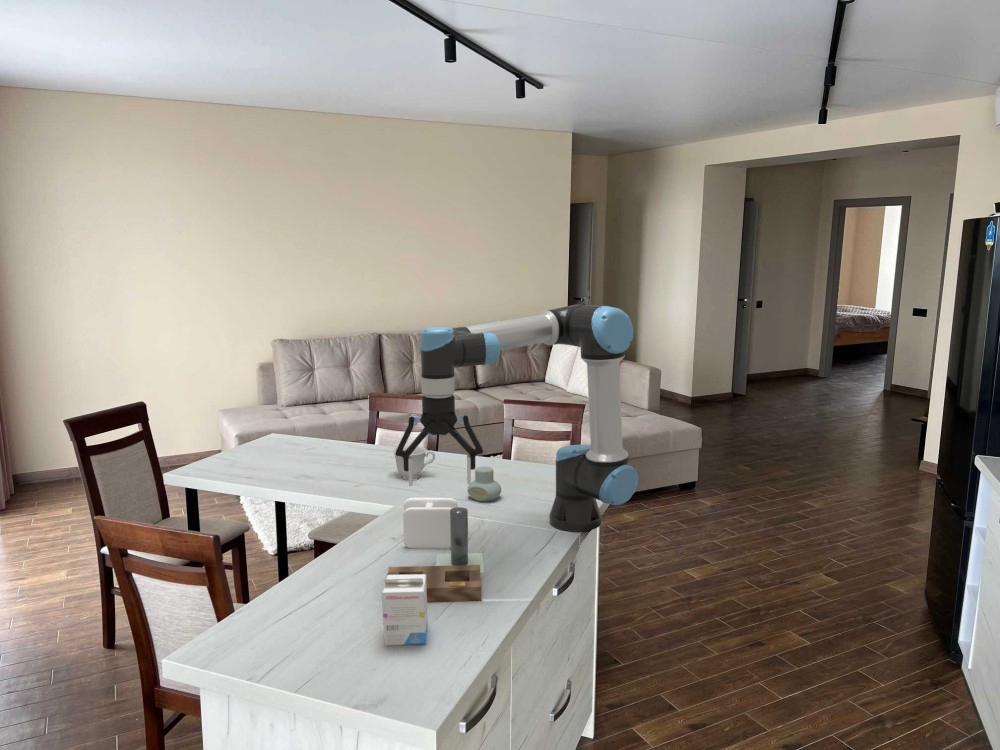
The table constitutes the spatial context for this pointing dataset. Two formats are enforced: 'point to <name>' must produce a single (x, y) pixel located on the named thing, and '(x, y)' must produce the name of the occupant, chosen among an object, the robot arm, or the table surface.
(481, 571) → the mat
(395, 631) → the ink box
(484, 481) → the air freshener
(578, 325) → the robot arm
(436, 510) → the cable organizer
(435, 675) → the table surface
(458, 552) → the plug
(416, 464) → the teacup
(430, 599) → the socket block
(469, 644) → the table surface
